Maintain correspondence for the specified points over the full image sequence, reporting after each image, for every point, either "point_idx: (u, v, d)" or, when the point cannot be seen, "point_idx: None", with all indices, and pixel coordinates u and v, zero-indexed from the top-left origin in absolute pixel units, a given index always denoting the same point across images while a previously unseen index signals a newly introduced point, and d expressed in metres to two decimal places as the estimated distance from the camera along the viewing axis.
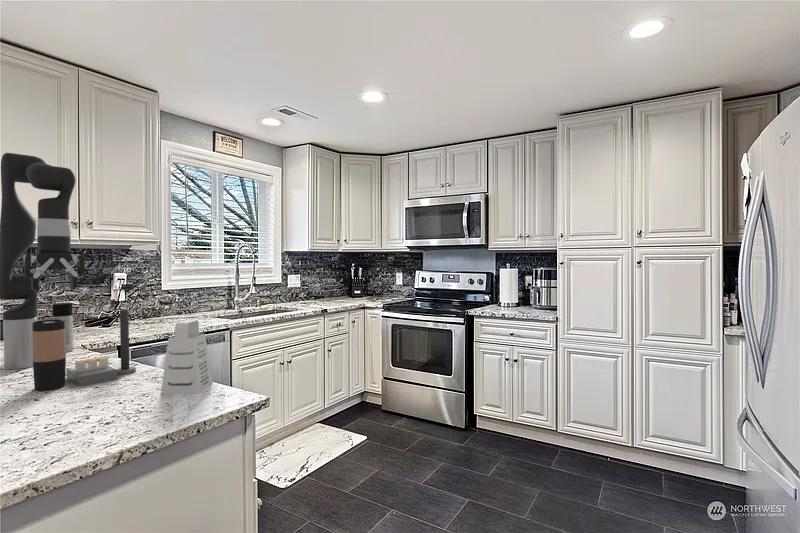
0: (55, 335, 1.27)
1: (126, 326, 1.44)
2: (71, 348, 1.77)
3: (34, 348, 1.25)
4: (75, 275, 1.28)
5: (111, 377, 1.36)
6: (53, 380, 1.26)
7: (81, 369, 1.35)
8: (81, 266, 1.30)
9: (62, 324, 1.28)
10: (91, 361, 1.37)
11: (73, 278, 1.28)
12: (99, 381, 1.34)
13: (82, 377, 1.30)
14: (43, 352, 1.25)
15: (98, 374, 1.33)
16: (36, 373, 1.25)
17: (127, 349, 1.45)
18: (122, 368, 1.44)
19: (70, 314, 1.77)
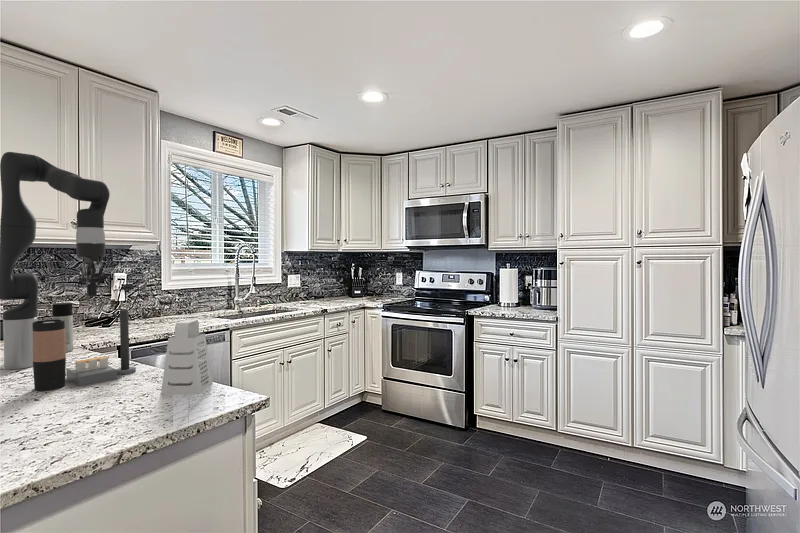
0: (55, 335, 1.27)
1: (126, 326, 1.44)
2: (71, 348, 1.77)
3: (34, 348, 1.25)
4: None
5: (111, 377, 1.36)
6: (53, 380, 1.26)
7: (81, 369, 1.35)
8: None
9: (62, 324, 1.28)
10: (91, 361, 1.37)
11: None
12: (99, 381, 1.34)
13: (82, 377, 1.30)
14: (43, 352, 1.25)
15: (98, 374, 1.33)
16: (36, 373, 1.25)
17: (127, 349, 1.45)
18: (122, 368, 1.44)
19: (70, 314, 1.77)
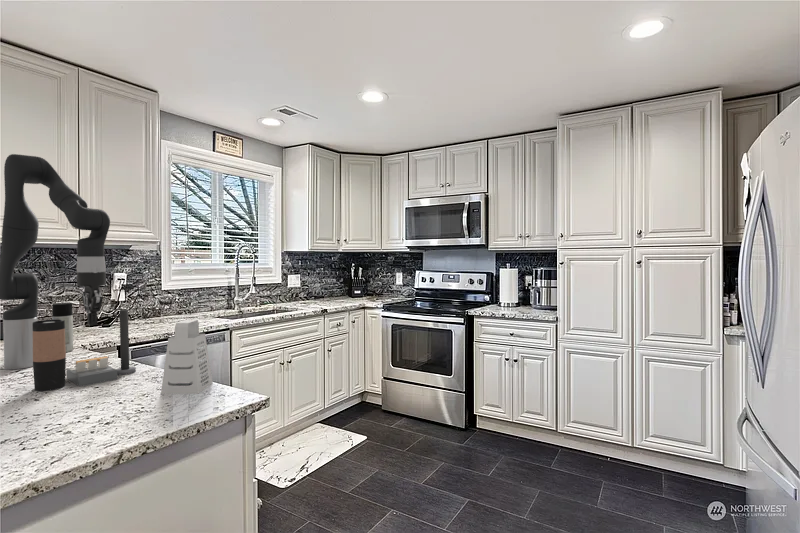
0: (55, 335, 1.27)
1: (126, 326, 1.44)
2: (71, 348, 1.77)
3: (34, 348, 1.25)
4: None
5: (111, 377, 1.36)
6: (53, 380, 1.26)
7: (81, 369, 1.35)
8: None
9: (62, 324, 1.28)
10: (91, 361, 1.37)
11: None
12: (99, 381, 1.34)
13: (82, 377, 1.30)
14: (43, 352, 1.25)
15: (98, 374, 1.33)
16: (36, 373, 1.25)
17: (127, 349, 1.45)
18: (122, 368, 1.44)
19: (70, 314, 1.77)
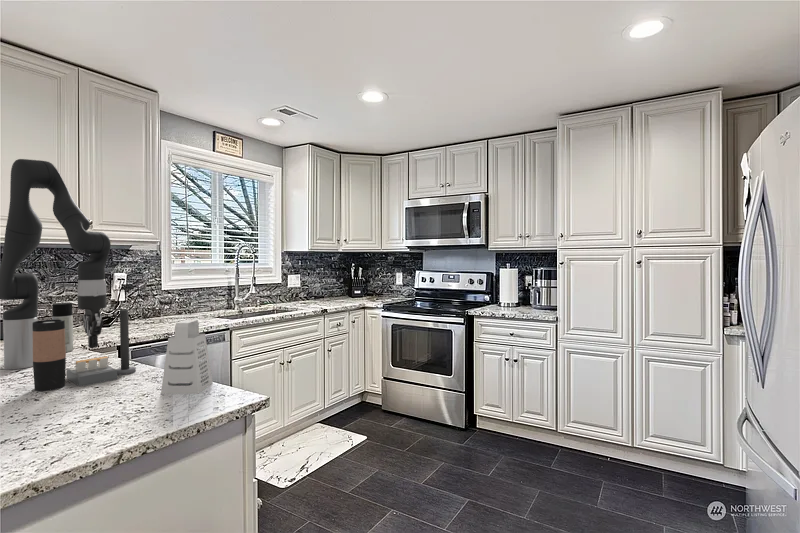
0: (55, 335, 1.27)
1: (126, 326, 1.44)
2: (71, 348, 1.77)
3: (34, 348, 1.25)
4: None
5: (111, 377, 1.36)
6: (53, 380, 1.26)
7: (81, 369, 1.35)
8: None
9: (61, 324, 1.28)
10: (91, 361, 1.37)
11: None
12: (99, 381, 1.34)
13: (82, 377, 1.30)
14: (43, 352, 1.25)
15: (98, 374, 1.33)
16: (36, 373, 1.25)
17: (127, 349, 1.45)
18: (122, 368, 1.44)
19: (70, 314, 1.77)
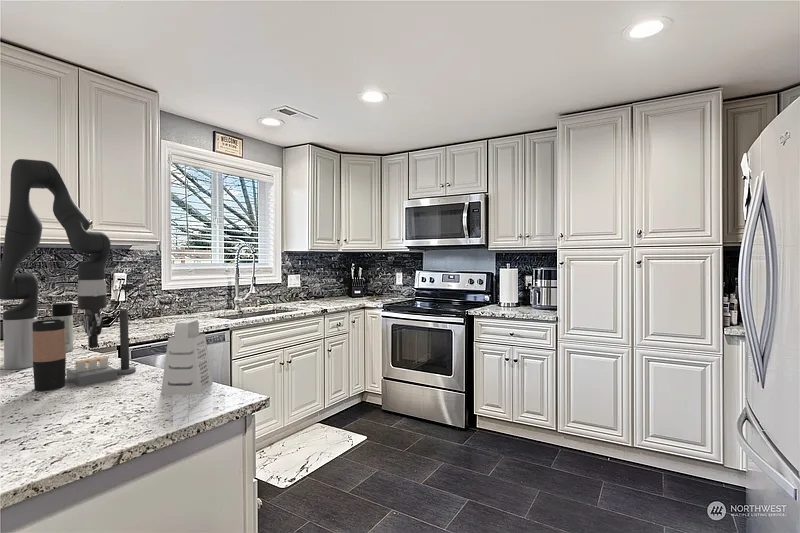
0: (55, 335, 1.27)
1: (126, 326, 1.44)
2: (71, 348, 1.77)
3: (34, 348, 1.25)
4: None
5: (111, 377, 1.36)
6: (53, 380, 1.26)
7: (81, 369, 1.35)
8: None
9: (61, 324, 1.28)
10: (91, 361, 1.37)
11: None
12: (99, 381, 1.34)
13: (82, 377, 1.30)
14: (43, 352, 1.25)
15: (98, 374, 1.33)
16: (36, 373, 1.25)
17: (127, 349, 1.45)
18: (122, 368, 1.44)
19: (70, 314, 1.77)
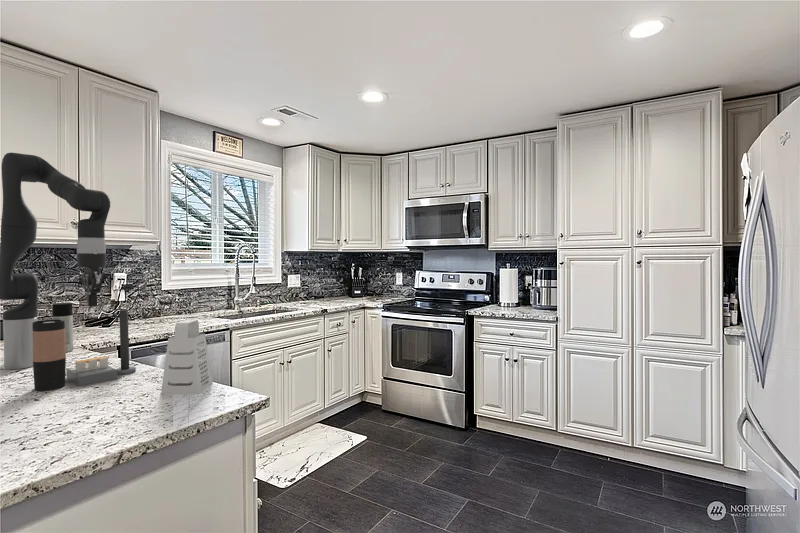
0: (55, 335, 1.27)
1: (126, 326, 1.44)
2: (71, 348, 1.77)
3: (34, 348, 1.25)
4: None
5: (111, 377, 1.36)
6: (53, 380, 1.26)
7: (81, 369, 1.35)
8: None
9: (62, 324, 1.28)
10: (91, 361, 1.37)
11: None
12: (99, 381, 1.34)
13: (82, 377, 1.30)
14: (43, 352, 1.25)
15: (98, 374, 1.33)
16: (36, 373, 1.25)
17: (127, 349, 1.45)
18: (122, 368, 1.44)
19: (70, 314, 1.77)
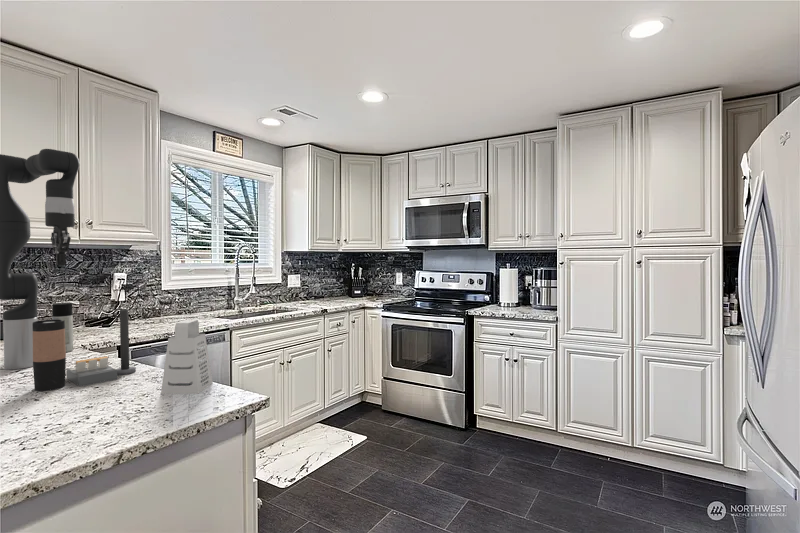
0: (55, 335, 1.27)
1: (126, 326, 1.45)
2: (71, 348, 1.77)
3: (34, 348, 1.25)
4: None
5: (111, 377, 1.36)
6: (53, 380, 1.26)
7: (81, 369, 1.35)
8: None
9: (62, 324, 1.28)
10: (91, 361, 1.37)
11: None
12: (99, 381, 1.34)
13: (82, 377, 1.30)
14: (43, 352, 1.25)
15: (98, 374, 1.33)
16: (36, 373, 1.25)
17: (127, 349, 1.45)
18: (122, 368, 1.44)
19: (70, 314, 1.77)
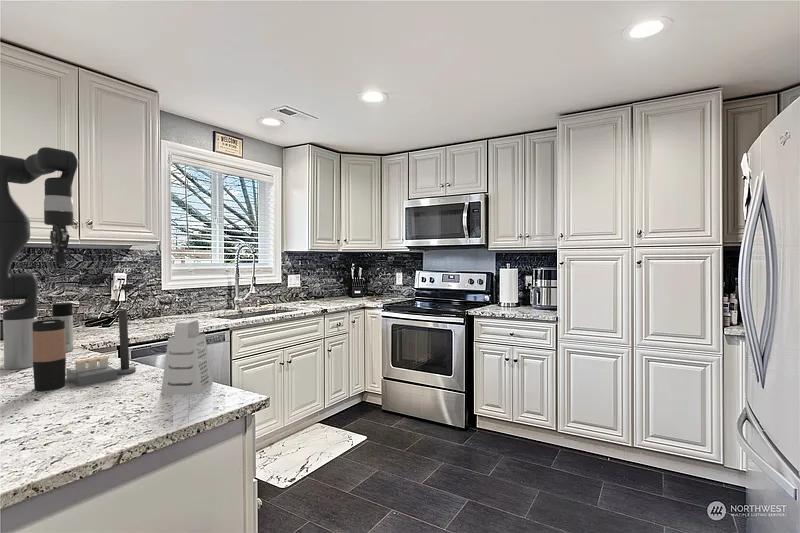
0: (55, 335, 1.27)
1: (125, 326, 1.44)
2: (71, 348, 1.77)
3: (34, 348, 1.25)
4: None
5: (111, 377, 1.36)
6: (53, 380, 1.26)
7: (81, 369, 1.35)
8: None
9: (62, 324, 1.28)
10: (91, 361, 1.37)
11: None
12: (99, 381, 1.34)
13: (82, 377, 1.30)
14: (43, 352, 1.25)
15: (98, 374, 1.33)
16: (36, 373, 1.25)
17: (127, 349, 1.45)
18: (122, 368, 1.44)
19: (70, 314, 1.77)
